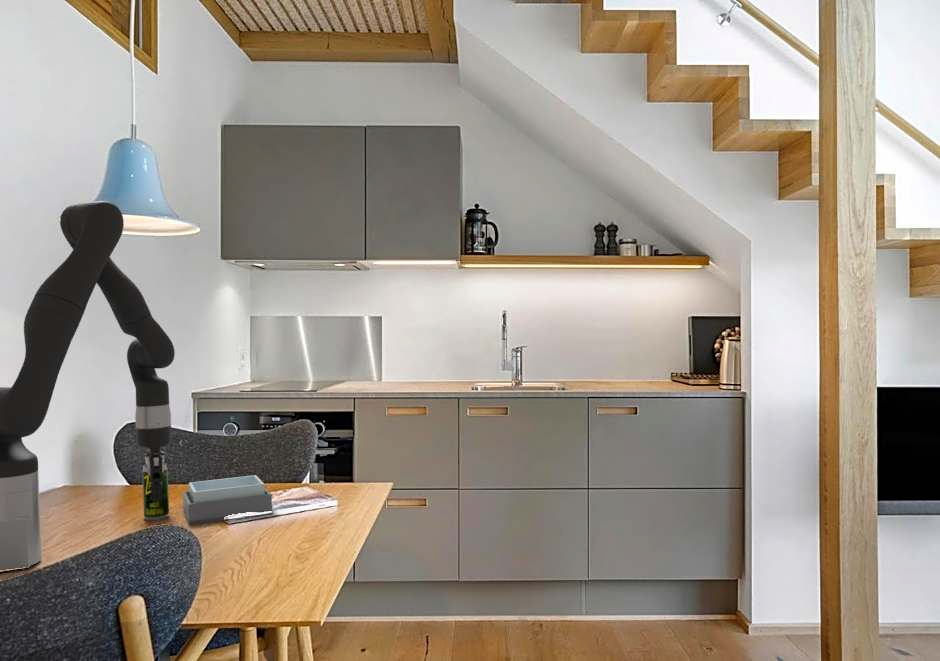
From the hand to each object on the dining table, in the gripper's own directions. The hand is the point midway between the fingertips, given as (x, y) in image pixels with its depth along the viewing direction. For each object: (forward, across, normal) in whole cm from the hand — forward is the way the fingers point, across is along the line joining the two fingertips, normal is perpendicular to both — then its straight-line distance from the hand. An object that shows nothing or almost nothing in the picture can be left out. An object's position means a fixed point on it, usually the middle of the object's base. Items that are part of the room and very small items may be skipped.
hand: (156, 497), depth 173 cm
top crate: (+5, -4, -15) cm, 16 cm away
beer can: (+5, 0, 0) cm, 5 cm away
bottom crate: (+5, -4, -15) cm, 16 cm away
